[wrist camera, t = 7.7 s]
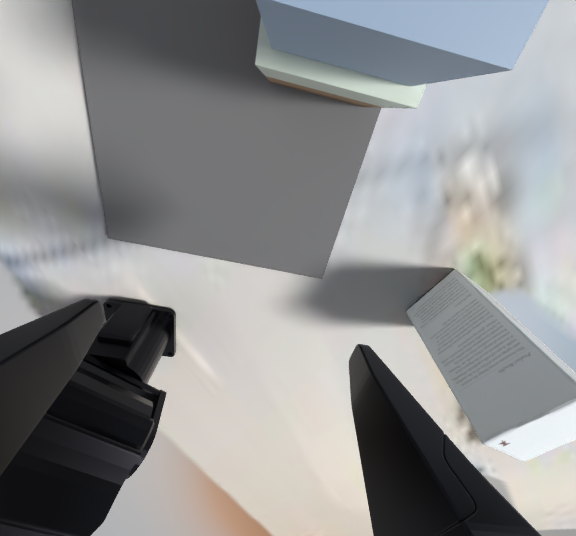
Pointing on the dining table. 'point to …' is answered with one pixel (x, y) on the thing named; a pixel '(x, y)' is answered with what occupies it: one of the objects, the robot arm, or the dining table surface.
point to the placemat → (213, 136)
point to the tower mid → (333, 78)
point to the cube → (404, 35)
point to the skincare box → (497, 369)
